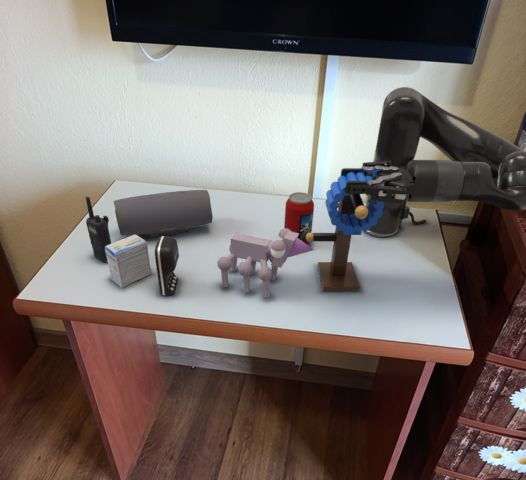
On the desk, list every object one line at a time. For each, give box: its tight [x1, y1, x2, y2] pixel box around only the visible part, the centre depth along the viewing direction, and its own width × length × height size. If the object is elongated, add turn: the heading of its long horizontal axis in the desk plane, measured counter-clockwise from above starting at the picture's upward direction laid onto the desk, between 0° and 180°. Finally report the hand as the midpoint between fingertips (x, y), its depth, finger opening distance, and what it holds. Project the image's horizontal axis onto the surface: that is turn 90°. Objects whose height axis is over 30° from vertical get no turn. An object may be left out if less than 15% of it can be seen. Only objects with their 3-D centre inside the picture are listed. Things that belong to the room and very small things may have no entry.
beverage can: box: [283, 191, 315, 246], centre depth 122 cm, size 7×7×12 cm
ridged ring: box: [325, 172, 384, 236], centre depth 97 cm, size 5×10×11 cm, turn 92°
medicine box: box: [105, 234, 152, 288], centre depth 110 cm, size 8×4×9 cm, turn 135°
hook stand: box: [306, 194, 368, 292], centre depth 104 cm, size 17×12×23 cm
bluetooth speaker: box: [113, 189, 214, 237], centre depth 125 cm, size 23×9×10 cm, turn 108°
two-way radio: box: [85, 196, 112, 263], centre depth 114 cm, size 6×4×15 cm
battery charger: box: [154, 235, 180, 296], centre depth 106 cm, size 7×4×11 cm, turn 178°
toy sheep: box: [217, 228, 314, 298], centre depth 107 cm, size 20×11×14 cm, turn 70°
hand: (343, 180), depth 94 cm, fingers closed on ridged ring, 5 cm apart
